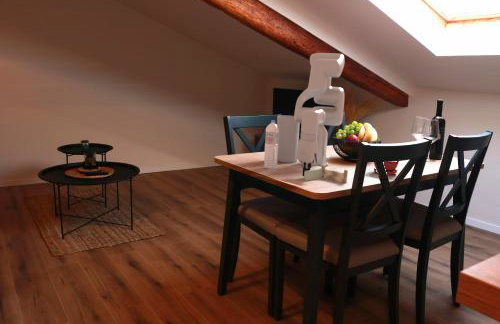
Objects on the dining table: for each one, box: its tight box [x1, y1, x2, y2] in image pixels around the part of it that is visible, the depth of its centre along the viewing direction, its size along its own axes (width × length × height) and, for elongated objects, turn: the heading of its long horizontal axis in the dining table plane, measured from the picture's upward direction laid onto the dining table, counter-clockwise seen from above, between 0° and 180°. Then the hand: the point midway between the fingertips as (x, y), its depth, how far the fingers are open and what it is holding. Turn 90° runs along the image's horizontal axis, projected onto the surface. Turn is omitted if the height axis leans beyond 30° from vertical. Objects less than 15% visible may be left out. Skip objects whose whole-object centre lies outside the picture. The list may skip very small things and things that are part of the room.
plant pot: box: [373, 160, 400, 176], centre depth 217 cm, size 13×13×12 cm
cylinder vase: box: [276, 115, 301, 164], centre depth 235 cm, size 12×12×25 cm
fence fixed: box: [320, 165, 349, 184], centre depth 194 cm, size 14×2×6 cm, turn 47°
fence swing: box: [303, 167, 323, 182], centre depth 194 cm, size 11×2×4 cm, turn 131°
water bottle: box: [263, 119, 279, 170], centre depth 213 cm, size 7×7×25 cm
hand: (306, 176), depth 195 cm, fingers closed
